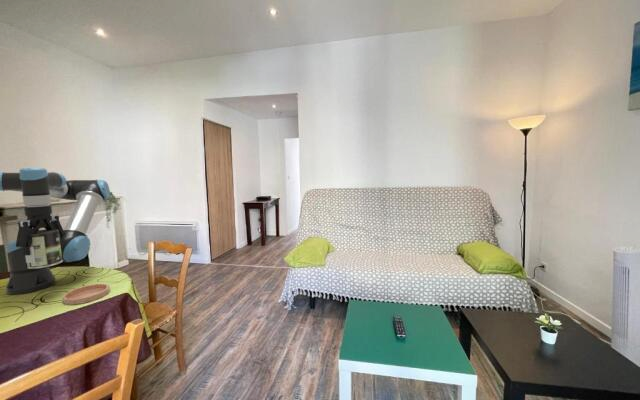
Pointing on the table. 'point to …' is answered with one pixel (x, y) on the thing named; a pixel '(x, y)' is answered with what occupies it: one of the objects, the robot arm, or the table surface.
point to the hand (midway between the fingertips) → (44, 257)
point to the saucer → (85, 294)
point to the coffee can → (46, 249)
